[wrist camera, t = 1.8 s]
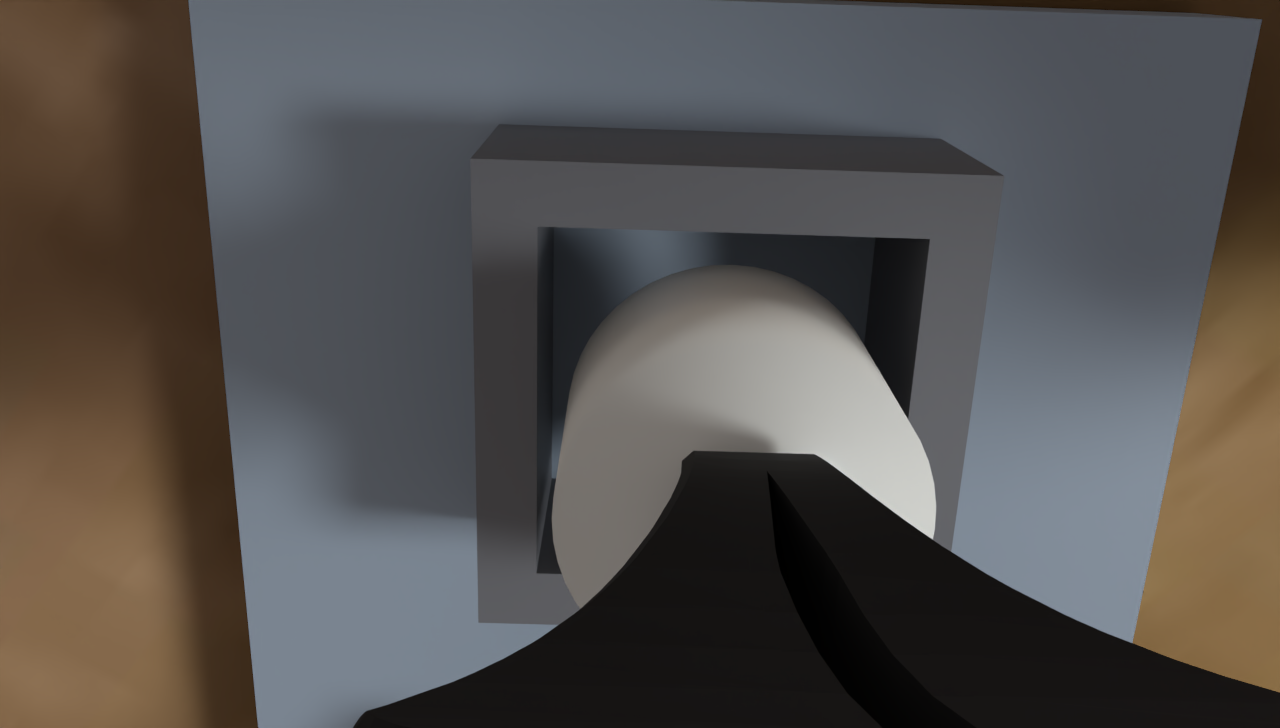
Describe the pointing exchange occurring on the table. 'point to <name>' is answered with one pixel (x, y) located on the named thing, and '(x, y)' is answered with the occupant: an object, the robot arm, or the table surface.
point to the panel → (673, 242)
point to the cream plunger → (719, 408)
